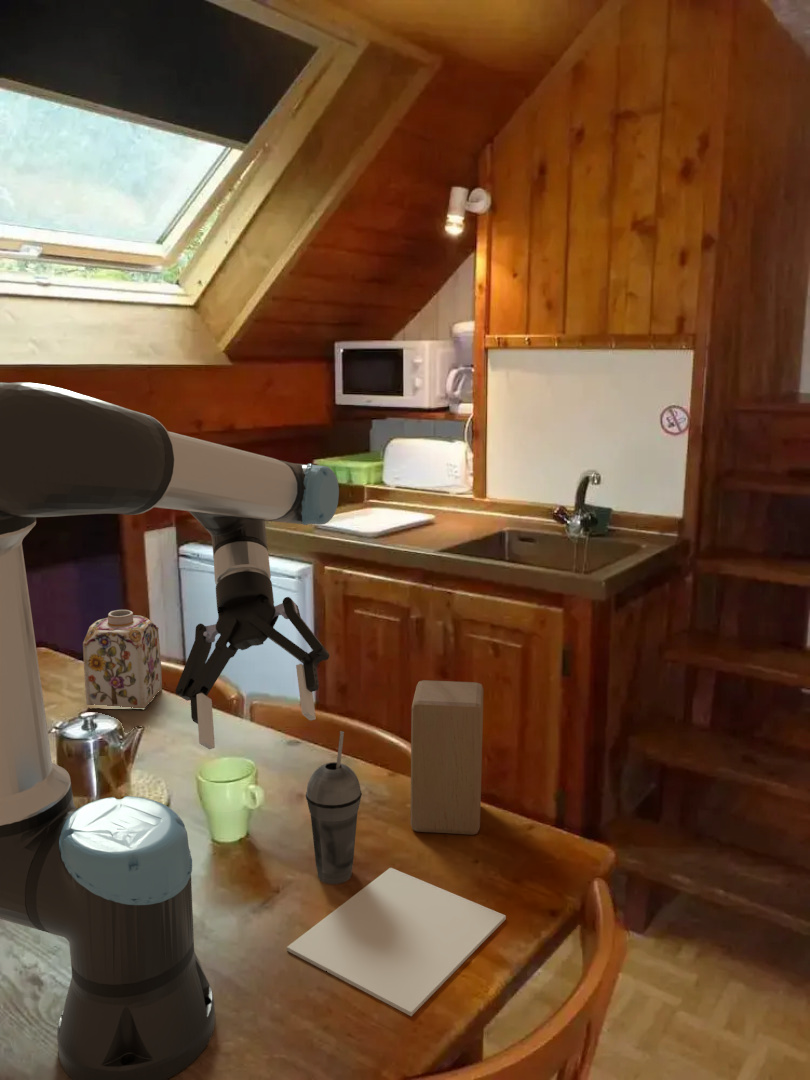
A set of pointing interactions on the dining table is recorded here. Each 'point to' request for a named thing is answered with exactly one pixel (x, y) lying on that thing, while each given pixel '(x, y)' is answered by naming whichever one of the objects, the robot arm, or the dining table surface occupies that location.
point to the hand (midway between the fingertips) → (257, 731)
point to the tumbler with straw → (334, 818)
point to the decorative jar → (122, 661)
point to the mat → (398, 939)
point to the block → (446, 757)
